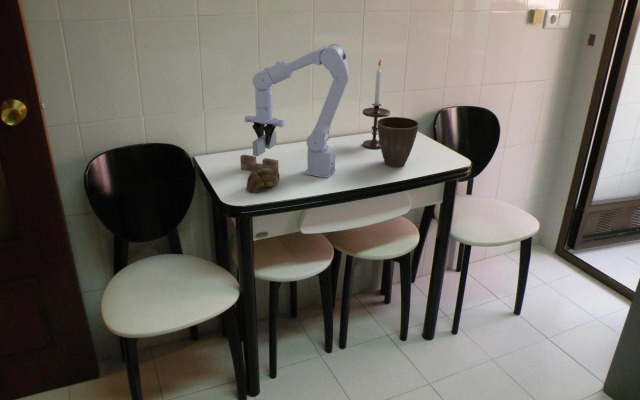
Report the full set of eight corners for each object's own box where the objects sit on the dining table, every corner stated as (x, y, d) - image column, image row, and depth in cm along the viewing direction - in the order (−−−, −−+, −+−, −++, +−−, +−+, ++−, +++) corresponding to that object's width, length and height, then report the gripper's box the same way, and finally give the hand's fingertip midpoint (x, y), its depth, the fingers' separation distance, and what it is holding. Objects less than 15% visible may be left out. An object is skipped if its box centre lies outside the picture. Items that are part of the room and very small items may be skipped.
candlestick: (388, 150, 206) (395, 61, 191) (361, 149, 206) (366, 60, 191) (385, 141, 215) (392, 56, 201) (359, 140, 215) (364, 55, 201)
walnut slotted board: (278, 173, 181) (278, 160, 179) (276, 175, 179) (275, 162, 177) (243, 167, 185) (243, 154, 183) (240, 169, 184) (240, 156, 181)
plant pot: (382, 172, 184) (385, 129, 177) (369, 158, 197) (371, 117, 190) (420, 169, 187) (425, 127, 180) (405, 155, 200) (409, 115, 193)
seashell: (276, 181, 175) (276, 159, 171) (282, 192, 167) (282, 169, 163) (243, 184, 171) (242, 162, 168) (248, 195, 163) (247, 172, 160)
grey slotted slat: (271, 143, 189) (271, 130, 187) (276, 144, 189) (276, 131, 187) (252, 155, 178) (252, 141, 175) (258, 156, 177) (257, 142, 175)
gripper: (287, 106, 177) (288, 143, 183) (251, 101, 182) (252, 137, 188) (278, 110, 171) (279, 149, 177) (241, 105, 176) (242, 143, 182)
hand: (264, 143), depth 182 cm, fingers closed on grey slotted slat, 2 cm apart
